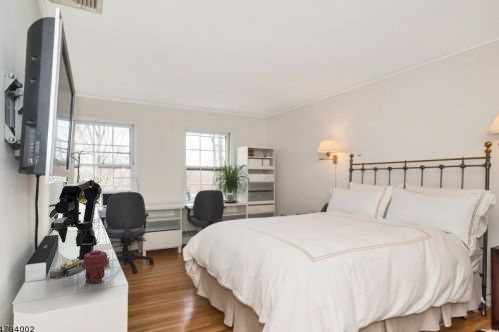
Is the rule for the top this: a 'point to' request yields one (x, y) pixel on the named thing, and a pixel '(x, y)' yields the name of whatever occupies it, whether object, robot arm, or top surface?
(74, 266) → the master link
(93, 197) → the robot arm
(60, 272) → the studded rectangular link
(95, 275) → the mechanical component
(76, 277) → the top surface
